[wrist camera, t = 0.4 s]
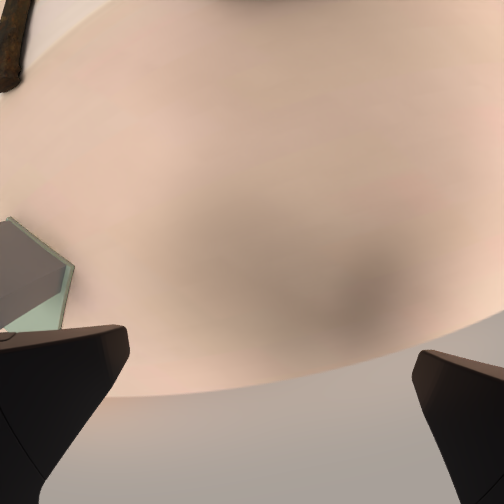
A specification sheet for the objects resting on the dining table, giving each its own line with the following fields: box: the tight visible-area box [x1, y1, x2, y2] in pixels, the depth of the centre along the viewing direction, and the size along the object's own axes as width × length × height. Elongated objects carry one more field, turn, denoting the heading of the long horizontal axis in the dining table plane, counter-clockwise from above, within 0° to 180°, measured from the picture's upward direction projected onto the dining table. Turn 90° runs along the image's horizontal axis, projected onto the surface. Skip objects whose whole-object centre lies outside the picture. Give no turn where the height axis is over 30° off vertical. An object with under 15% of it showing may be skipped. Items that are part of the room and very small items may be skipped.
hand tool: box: [0, 0, 31, 93], centre depth 16 cm, size 19×4×5 cm, turn 2°
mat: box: [4, 217, 74, 333], centre depth 25 cm, size 14×10×1 cm
